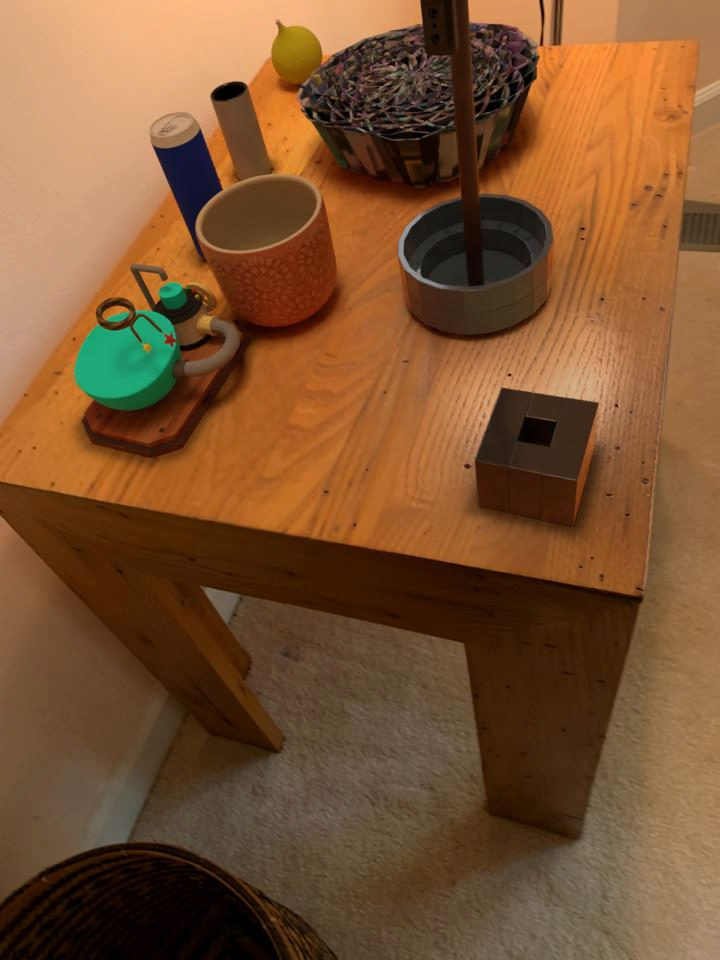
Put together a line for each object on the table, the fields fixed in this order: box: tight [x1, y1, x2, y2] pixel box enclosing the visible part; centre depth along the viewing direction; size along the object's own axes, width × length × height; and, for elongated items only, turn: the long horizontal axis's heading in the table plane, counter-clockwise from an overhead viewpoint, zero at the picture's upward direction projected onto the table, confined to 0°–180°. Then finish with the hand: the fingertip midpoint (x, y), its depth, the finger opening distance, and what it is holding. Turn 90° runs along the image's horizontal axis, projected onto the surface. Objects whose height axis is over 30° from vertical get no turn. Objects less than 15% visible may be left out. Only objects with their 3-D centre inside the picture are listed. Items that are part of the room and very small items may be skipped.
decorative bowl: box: [296, 21, 541, 189], centre depth 88 cm, size 26×28×10 cm
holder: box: [474, 387, 600, 527], centre depth 57 cm, size 7×7×6 cm
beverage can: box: [149, 111, 224, 260], centre depth 80 cm, size 5×5×15 cm
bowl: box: [397, 192, 554, 336], centre depth 71 cm, size 14×14×6 cm
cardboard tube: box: [209, 80, 272, 181], centre depth 90 cm, size 4×4×10 cm
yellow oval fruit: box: [270, 14, 323, 86], centre depth 102 cm, size 7×7×10 cm
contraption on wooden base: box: [73, 263, 252, 458], centre depth 68 cm, size 14×18×15 cm
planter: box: [195, 173, 338, 328], centre depth 74 cm, size 12×12×11 cm
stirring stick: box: [450, 0, 484, 287], centre depth 63 cm, size 2×2×26 cm
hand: (460, 23), depth 54 cm, fingers open, 8 cm apart
